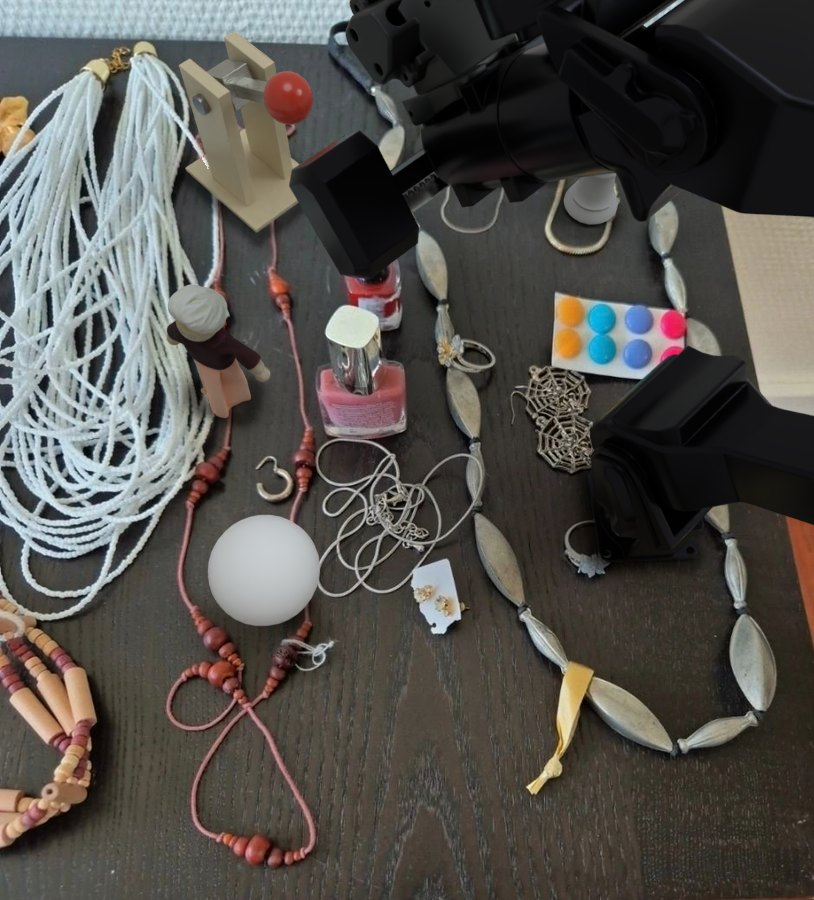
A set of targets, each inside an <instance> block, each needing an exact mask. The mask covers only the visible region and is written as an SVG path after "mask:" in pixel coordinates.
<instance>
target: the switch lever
mask: <svg viewBox="0 0 814 900" xmlns="http://www.w3.org/2000/svg"><path fill="white" fill-rule="evenodd" d="M206 72H207V73H208V74H209V75H211V76H212V77H213V78H214V79H215V80H217V81H218V82H219V83H220V84H222V85H223V86H224V87H225V88H226V89H228V90H229V91H230V95H231V99H232V103H233V107H234V111H235V112H238V111H241V108H243V107H244V106H246V105H247V104H249V103H250V102H252V101H253V102H257V103H261V104H265V107H266V109H267V111H268V113H269V114H270V116H271V117H272V118H273V119H275V120H276V121H278V122H279V123H282V124H285V126H293V125H294V126H295V125H297V124H300V123H302V122H303V121H304V120H306V119H307V117H308V116H310V113H311V111H312V109H313V106H314V105H313V104H314V94H313V90H312V88H311V85H310V84H309V82H308V81H307V80H306V79H305V78H304V77H303V76H302V75H301V74H299V73H297V72H294V71H289V70H285V71H280V72H276V74H275V75H274V76H272V77H271V78H270V79H269V81H268V82H265V81H261V80H256V79H253V78H252V76H251V73H250V71H249V69H248V67H247V64H246V63H243V62H238V61H233V60H229V58H228V59H226V58H225V60H223V61H221V62H220V63H218V64H217V65H215V66H214V67H212V68H210V69H208V70H207V71H206Z"/></svg>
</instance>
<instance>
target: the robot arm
mask: <svg viewBox="0 0 814 900" xmlns="http://www.w3.org/2000/svg"><path fill="white" fill-rule="evenodd" d="M676 2H678V0H349V8H350V11H351V13H352V14H353V15H351V17H350V19H349V21H348V24H347V26H346V29H345V34H344V35H345V39H346V42H347V46H348V47H349V48H350V50H351V51H352V53H353V54H354V55H355V57H356V58H357V60H358V61H359V63H360V64H361V65H362V67H363V68H364V70H365V71H366V73H367V74H368V75H369V77H370V78H371V80H373V82H374V83H377V84H380V85H382V86H384V85H386V84H387V83H389V82H390V81H392V80H398V81H399V82H400V83H402V85H403V86H404V87H406V88H408V89H409V88H412V87H413V89H414V92H413V93H412V94H410V95H409V96H407V97H406V98H405V99H403V100H402V101H401V103H402V105H403V107H404V109H405V111H406V113H407V116H408V117H409V119H410V121H411V124H412V125H413V126H415V127H417V126H420V125H422V126H421V129H420V140H421V144H422V147H421V148H420V149H418V150H417V151H416V152H414V153H413V154H411V155H410V156H409V157H407V158H406V159H404V160H403V161H402V162H400V163H398V164H397V165H396V166H395V167H393V168H392V169H390V167H389V165H388V163H387V161H386V160H385V157H384V156H383V154H382V151H381V150H380V148H379V146H378V144H377V143H375V142H374V141H373V140H371V139H370V137H368V136H367V135H366V134H365V133H364V132H362V131H361V129H360V130H357V131H353V132H349V133H348V134H345V135H343V136H341V137H340V138H338V139H337V140H335V141H333V142H331V143H330V144H328V145H326V146H325V147H323V148H321V150H319V151H317V152H316V153H314V154H313V155H312V156H310V157H308V158H307V159H305V160H304V161H303V162H301V163H299V164H300V165H298V166H297V167H295V168H294V169H292V171H291V177H290V183H289V187H290V189H291V191H292V192H293V194H294V196H295V197H296V199H297V201H298V203H297V204H299V206H300V208H301V210H302V212H303V213H304V215H305V217H306V218H307V220H308V221H309V223H310V225H311V227H312V228H313V231H314V232H315V234H316V236H317V237H318V238H319V240H320V242H321V244H322V245H323V247H324V249H325V250H326V252H327V254H328V256H329V258H330V260H331V261H332V263H333V264H334V267H335V268H336V269H337V271H338V273H339V275H341V276H343V277H347V278H350V279H360V280H361V279H362V280H371V279H372V278H374V277H375V276H376V275H378V274H380V273H381V271H383V270H384V269H386V268H387V267H389V266H390V265H391V264H392V263H394V262H395V261H396V260H397V259H399V258H400V257H402V256H403V255H404V254H407V252H409V250H411V249H412V248H414V247H415V246H417V245H418V244H419V238H420V237H419V235H420V225H419V224H418V222H417V220H416V218H415V216H414V214H413V213H415V212H417V211H418V210H419V209H420V208H422V207H423V206H425V205H426V204H428V202H430V201H431V200H433V199H434V198H435V197H437V196H438V195H440V194H441V193H442V192H444V191H445V190H446V189H447V188H449V187H452V190H453V192H454V194H455V196H456V198H457V200H458V202H459V205H460V206H461V208H470V207H474V206H476V205H477V204H478V203H479V202H481V201H482V200H483V199H484V198H487V196H488V195H490V194H492V193H493V192H494V191H495V190H497V189H500V188H503V191H504V194H505V195H506V198H507V200H508V202H509V204H511V203H522V202H524V201H526V200H527V199H528V198H529V197H531V196H532V195H534V193H536V192H538V190H540V189H541V188H542V187H544V186H545V185H547V184H548V183H550V182H555V181H563V180H571V179H580V178H581V177H589V176H597V175H605V174H613V173H616V176H617V178H618V180H619V183H620V185H621V188H622V192H623V194H624V196H625V199H626V202H627V205H628V207H629V209H630V212H631V216H632V217H633V218H634V219H635V220H636V221H637V222H639V223H643V222H647V221H648V220H649V219H651V218H652V217H653V216H654V215H655V214H656V213H658V212H659V211H660V210H661V209H662V208H664V207H665V206H666V205H667V204H668V203H670V202H671V201H672V200H673V199H675V198H676V197H677V196H678V195H679V194H680V193H682V192H683V191H685V192H686V193H690V194H692V195H694V196H696V197H699V198H701V199H704V200H706V201H709V202H711V203H714V204H715V205H718V206H720V207H723V208H726V209H728V210H730V211H732V212H735V213H737V214H742V215H756V216H757V215H760V216H778V217H779V216H781V217H797V218H812V219H814V0H682V1H680V3H678V4H677V5H675V6H674V7H672V8H671V9H670V10H668V11H667V12H665V13H664V14H663V15H662V16H660V17H659V18H657V19H656V20H655V21H653V22H652V23H651V24H649V25H648V26H647V27H646V26H645V24H647V23H648V22H650V21H651V20H652V19H653V18H655V17H657V16H658V15H659V14H660V13H662V12H664V11H665V10H666V9H668V8H669V7H671V6H672V5H673V4H674V3H676ZM747 371H748V370H747V363H746V362H745V360H744V359H743V358H741V357H740V356H738V355H713V354H710V353H707V352H703V351H700V350H699V349H696V348H695V347H692V346H690V345H687V346H685V348H684V349H682V351H680V352H679V353H678V354H677V353H674V354H670V355H668V356H667V357H665V358H664V359H662V361H660V362H659V363H658V364H657V365H656V366H655V367H654V368H652V369H651V370H650V371H649V372H648V373H647V374H646V375H645V376H644V377H643V378H642V379H640V381H639V382H637V383H636V384H635V385H634V386H633V387H632V388H631V389H630V390H629V391H628V392H626V393H625V394H624V395H623V396H621V398H620V399H618V401H617V402H615V404H613V405H612V406H611V407H610V408H609V409H608V410H607V411H605V413H604V414H602V415H601V416H600V417H599V418H598V419H597V420H595V422H594V423H593V424H592V426H591V427H590V428H589V441H590V444H591V447H592V450H593V451H592V452H591V453H590V467H591V470H590V471H589V472H588V474H587V476H586V482H587V490H588V496H589V502H590V509H591V515H592V522H593V529H594V536H595V537H594V538H595V544H596V549H597V556H598V559H599V560H600V562H602V563H605V564H611V563H614V564H615V563H637V562H638V563H639V562H661V561H662V562H663V561H665V562H666V561H687V560H693V559H694V558H696V556H697V555H698V551H699V550H698V546H697V541H696V536H697V535H698V534H699V533H700V532H702V530H703V529H704V528H705V521H704V517H705V516H706V515H707V514H708V513H709V512H710V511H712V509H713V508H715V507H722V506H728V505H733V504H738V503H745V504H748V505H752V506H755V507H758V508H761V509H763V510H767V511H769V512H773V513H776V514H779V515H782V516H785V517H787V518H790V519H793V520H796V521H800V522H803V523H806V524H809V525H811V526H812V525H813V526H814V415H813V414H809V413H803V412H799V411H793V410H789V409H784V408H781V407H778V406H776V405H772V404H771V402H770V401H769V400H768V399H767V398H766V397H765V395H763V393H762V392H761V391H760V390H759V389H758V388H757V387H756V385H755V383H753V382H752V381H751V380H750V379H749V377H748V372H747ZM687 549H688V550H690V551H691V553H689V552H687V551H688V550H687ZM604 553H608V555H609V557H607V556H605V555H604Z"/></svg>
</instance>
